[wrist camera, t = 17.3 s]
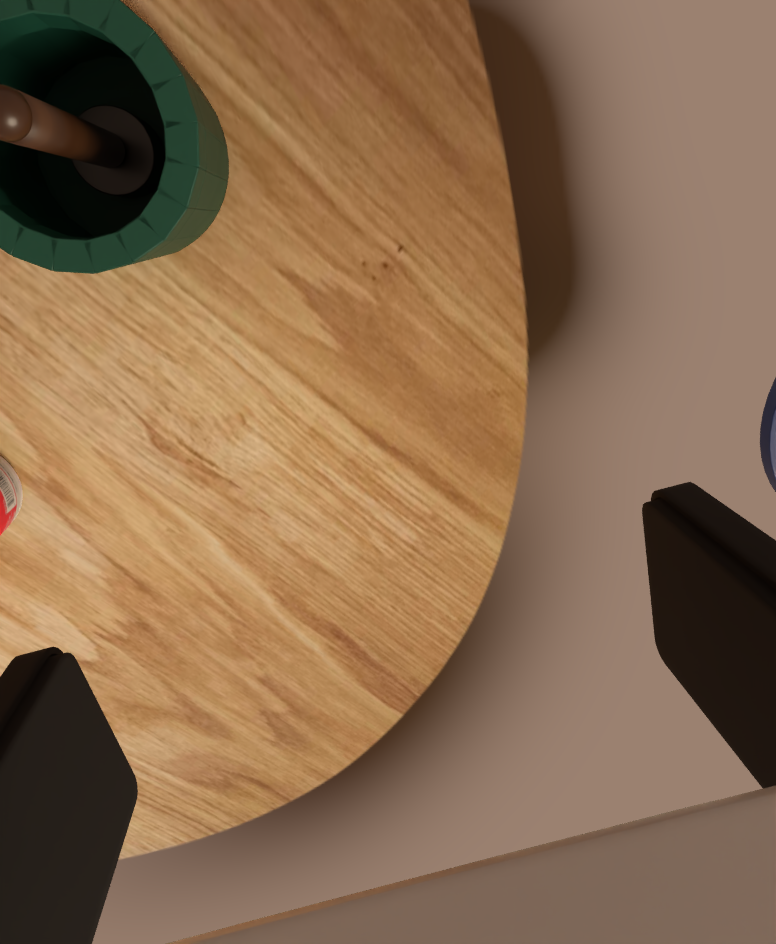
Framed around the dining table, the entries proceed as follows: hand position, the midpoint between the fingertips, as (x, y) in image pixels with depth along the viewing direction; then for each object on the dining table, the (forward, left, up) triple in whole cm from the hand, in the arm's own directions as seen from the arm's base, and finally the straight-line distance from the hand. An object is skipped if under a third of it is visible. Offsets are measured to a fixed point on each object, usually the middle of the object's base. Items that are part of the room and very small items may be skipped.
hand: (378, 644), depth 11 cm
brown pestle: (+7, -12, -31) cm, 34 cm away
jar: (+7, -12, -31) cm, 34 cm away
